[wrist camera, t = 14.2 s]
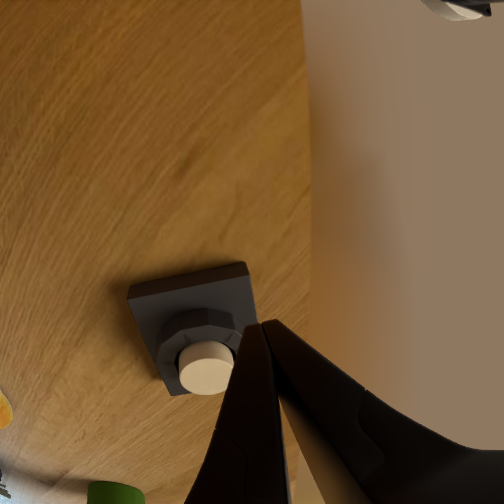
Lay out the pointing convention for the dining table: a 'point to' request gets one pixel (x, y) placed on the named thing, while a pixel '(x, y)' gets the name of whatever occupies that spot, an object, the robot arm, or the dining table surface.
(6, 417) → the bread roll
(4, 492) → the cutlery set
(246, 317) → the block
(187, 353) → the button
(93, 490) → the wine bottle
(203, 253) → the dining table surface
